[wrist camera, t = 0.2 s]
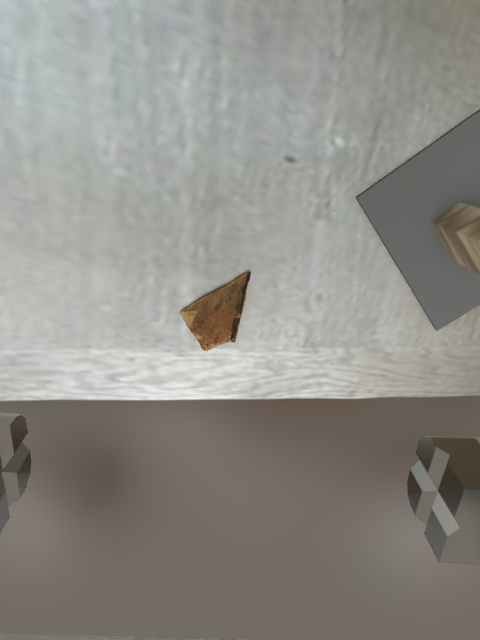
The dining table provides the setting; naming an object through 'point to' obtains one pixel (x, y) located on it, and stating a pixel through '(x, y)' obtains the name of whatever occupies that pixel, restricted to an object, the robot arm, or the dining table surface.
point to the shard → (217, 314)
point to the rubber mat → (430, 219)
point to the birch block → (461, 234)
